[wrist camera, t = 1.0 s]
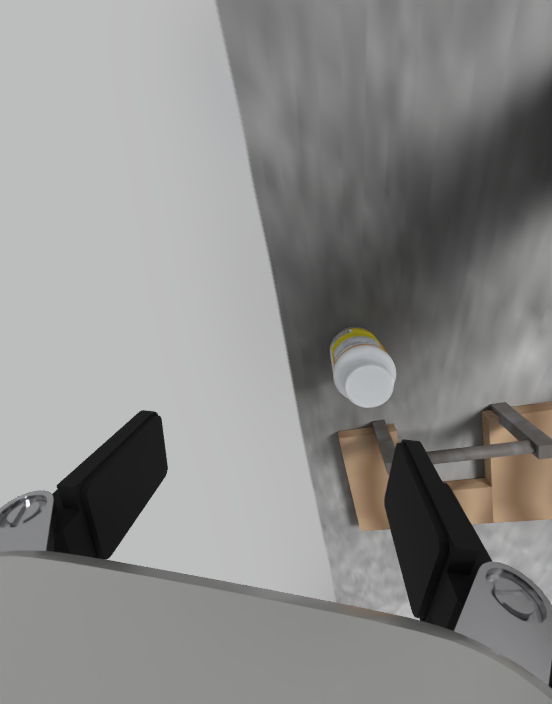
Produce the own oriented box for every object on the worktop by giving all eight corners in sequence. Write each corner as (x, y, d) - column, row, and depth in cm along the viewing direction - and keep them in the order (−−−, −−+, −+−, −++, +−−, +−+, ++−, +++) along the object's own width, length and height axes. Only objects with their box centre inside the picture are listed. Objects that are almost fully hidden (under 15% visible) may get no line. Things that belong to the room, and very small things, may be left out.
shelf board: (550, 395, 31) (619, 437, 24) (547, 508, 36) (603, 570, 29) (336, 426, 36) (341, 468, 29) (359, 521, 41) (367, 576, 34)
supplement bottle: (370, 374, 33) (392, 423, 24) (324, 364, 34) (327, 409, 24) (384, 330, 31) (414, 364, 22) (335, 320, 32) (343, 349, 22)
